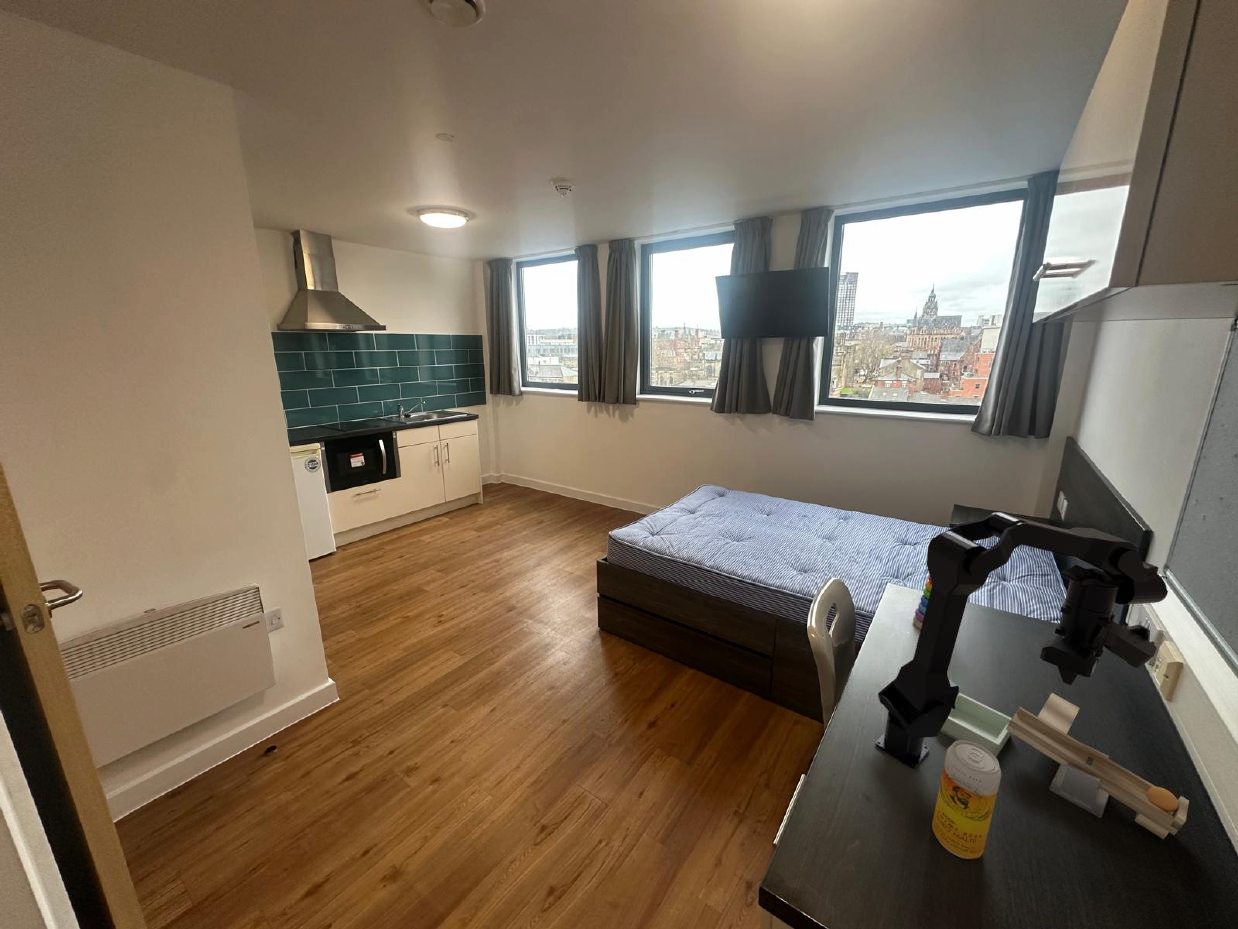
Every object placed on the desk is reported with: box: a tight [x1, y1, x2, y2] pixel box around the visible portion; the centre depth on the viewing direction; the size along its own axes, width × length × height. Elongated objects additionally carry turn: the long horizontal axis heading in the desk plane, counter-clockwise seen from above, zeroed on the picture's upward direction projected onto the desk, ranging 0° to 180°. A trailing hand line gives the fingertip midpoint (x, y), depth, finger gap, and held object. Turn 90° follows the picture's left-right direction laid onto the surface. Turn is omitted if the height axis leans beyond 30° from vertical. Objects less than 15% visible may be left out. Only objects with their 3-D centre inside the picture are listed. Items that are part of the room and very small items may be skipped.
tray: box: [939, 692, 1013, 758], centre depth 88 cm, size 9×9×4 cm
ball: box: [1147, 786, 1178, 812], centre depth 69 cm, size 3×3×3 cm
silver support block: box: [1049, 742, 1110, 819], centre depth 76 cm, size 8×6×6 cm
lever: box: [1006, 692, 1190, 840], centre depth 79 cm, size 17×20×5 cm
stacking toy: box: [912, 574, 932, 630], centre depth 118 cm, size 8×8×19 cm
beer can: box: [931, 740, 1002, 860], centre depth 67 cm, size 6×6×15 cm
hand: (1067, 683), depth 85 cm, fingers closed
